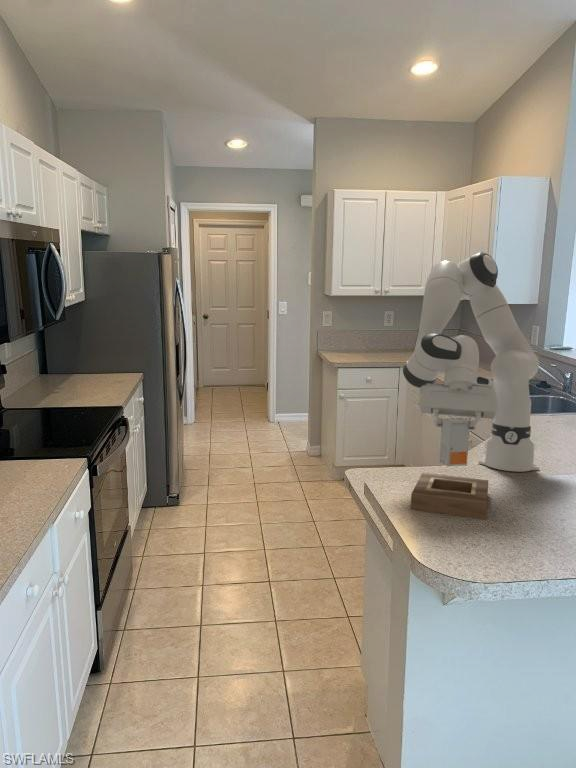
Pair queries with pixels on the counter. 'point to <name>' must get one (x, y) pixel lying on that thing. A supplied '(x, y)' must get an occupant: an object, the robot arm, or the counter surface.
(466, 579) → the counter surface
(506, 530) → the counter surface
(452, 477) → the walnut socket board
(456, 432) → the skincare box
